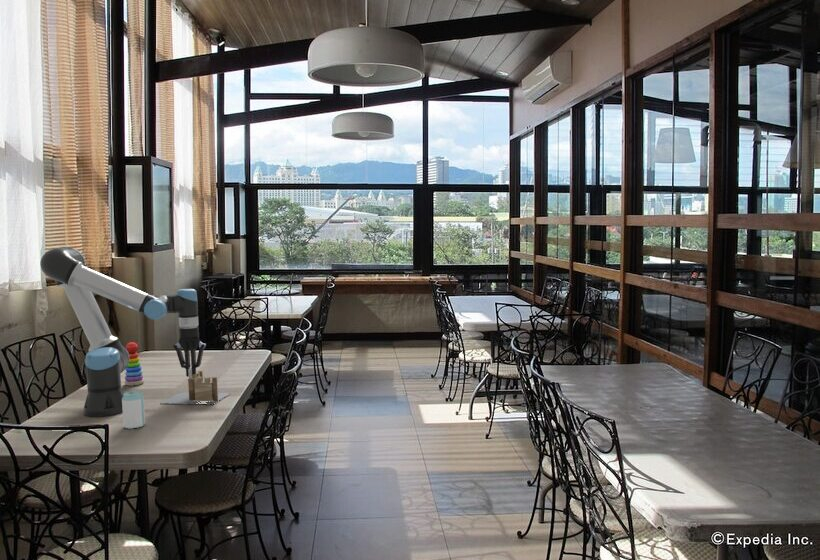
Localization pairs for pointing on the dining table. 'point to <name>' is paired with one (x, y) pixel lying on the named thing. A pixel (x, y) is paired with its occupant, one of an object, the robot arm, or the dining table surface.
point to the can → (133, 410)
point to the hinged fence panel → (197, 375)
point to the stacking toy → (133, 366)
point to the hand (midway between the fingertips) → (191, 384)
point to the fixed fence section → (203, 389)
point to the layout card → (184, 399)
